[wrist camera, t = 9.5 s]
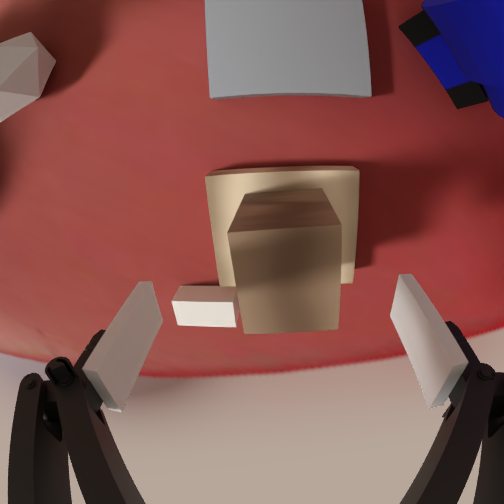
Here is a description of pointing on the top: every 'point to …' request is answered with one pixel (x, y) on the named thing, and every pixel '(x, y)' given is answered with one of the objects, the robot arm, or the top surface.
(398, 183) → the top surface
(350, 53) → the grey slab
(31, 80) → the die
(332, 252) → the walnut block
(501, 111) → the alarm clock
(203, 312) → the white brick
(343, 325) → the top surface
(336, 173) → the oak slab
